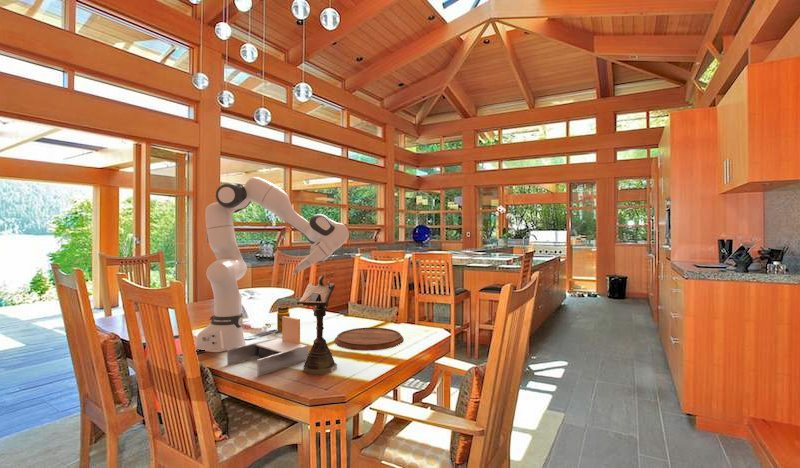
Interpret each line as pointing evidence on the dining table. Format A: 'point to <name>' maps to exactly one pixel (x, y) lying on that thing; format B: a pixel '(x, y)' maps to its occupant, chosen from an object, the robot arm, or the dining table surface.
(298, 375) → the dining table surface
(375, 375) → the dining table surface
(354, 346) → the cutting board
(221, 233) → the robot arm
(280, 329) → the condiment
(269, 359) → the grey metal tray
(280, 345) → the sliding cover
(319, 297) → the dark ornate pedestal stand
